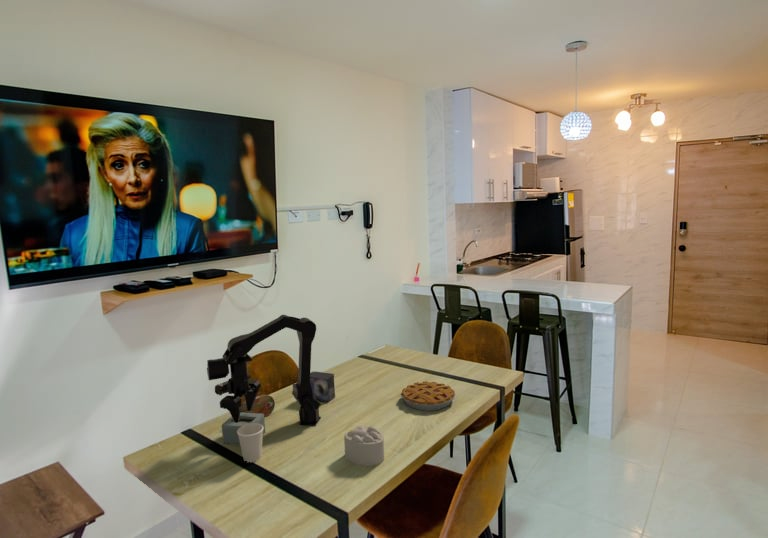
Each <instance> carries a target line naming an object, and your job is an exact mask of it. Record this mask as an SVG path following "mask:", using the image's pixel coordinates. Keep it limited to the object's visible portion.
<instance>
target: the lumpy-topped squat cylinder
mask: <svg viewBox="0 0 768 538" xmlns="http://www.w3.org/2000/svg"><path fill="white" fill-rule="evenodd" d="M343 436H344V437H343V440H344V457H345V459H347V460H348V461H350V462H352V463H353V464H356V465H359V466H365V467H367V466H368V467H370V466H371V467H372V466H373V467H374V466H378V465H380V464H383V462H385V441H384V436H383V434H382V432H381V431H379V430H378V429H377V427H376V426H373V425H371V426H366V425H363V426H362V425H358V426H356V427H355V428H352V430H349V431H347V432H346V433H344V435H343Z"/></svg>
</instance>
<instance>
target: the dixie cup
mask: <svg viewBox="0 0 768 538" xmlns="http://www.w3.org/2000/svg"><path fill="white" fill-rule="evenodd" d="M263 429H264V427H263V426H262V425H261V424H257V423H252V424H247V425H244V426H242V427H240V428H239V429H238V430H237V434H238V437H239V441H240V445H239V446H240V450H241V453H242V457H243V461H244V462H245V461H247V462H246V463H249V462H250V463H253V462H252V461H256V460H258V459H259V460H260V458H262V457H263V456H262V455H263V454H262V451H263V435H264V434H263ZM261 456H262V457H261ZM259 460H258V461H259ZM256 462H257V461H256Z"/></svg>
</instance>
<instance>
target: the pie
mask: <svg viewBox="0 0 768 538" xmlns="http://www.w3.org/2000/svg"><path fill="white" fill-rule="evenodd" d="M400 396H401V398H402V399H403V401H404V402H405V404H406V405H408V407H410V408H413V409H416V410H420V411H424V412H425V411H426V412H431V411H437V410H442V409H444V408H446V407H448V406H449V405H451V403H452V401H453V400H454V399H455V397H456V392H455V389H452V387H451V386H450V385H446V384H445V383H438V382H436V381H432V382H429V381H427V380H426V381H422V382H418V381H417V382H414V383H413V384H408V385H407V386H406V387H403V388H402V391H401V393H400Z"/></svg>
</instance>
